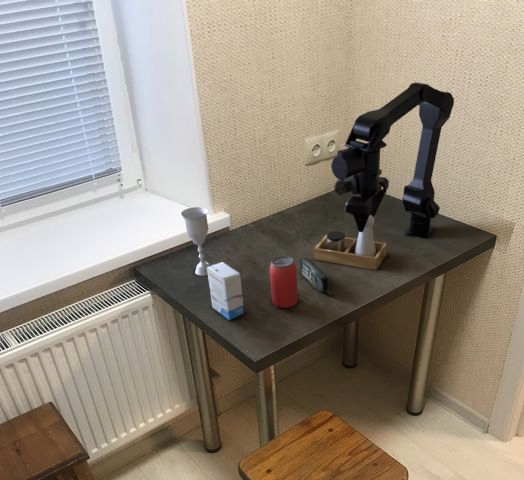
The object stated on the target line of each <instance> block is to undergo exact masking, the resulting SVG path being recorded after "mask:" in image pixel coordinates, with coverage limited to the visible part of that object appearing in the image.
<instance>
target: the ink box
mask: <svg viewBox="0 0 524 480" xmlns="http://www.w3.org/2000/svg"><path fill="white" fill-rule="evenodd" d="M207 272H208V275H207V278H208V286H209V291H210V292H209V293H210V299H211V307H212V309H214V310H215V311H216V312H218V313H219V314H220V315H222V316H223V317H225V319H226V320H228V321H231V320H234V319H235V318H237V317H239V316H242V315H244V314H245V307H244V299H243V298H244V297H243V288H242V279H241V273H240V272H238V271H237V270H236V269H234V268H232V267H231V266H229V265H228V264H226V263H225V262H223V261H221V262H218V263H216V264H212V265H210V266H209V267H208V268H207Z"/></svg>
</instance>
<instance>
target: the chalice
mask: <svg viewBox="0 0 524 480" xmlns="http://www.w3.org/2000/svg"><path fill="white" fill-rule="evenodd" d="M208 211H209V210H208V209H207V208H204V207H200V206H195V207H189V208H186V209H183V210H182V211H181V213H180V215H181V216H182V218H183V222H184V227H185V232H186V234H187V235H188V237H189V238H190V241H192V242H193V244H194V245H197V246H198V247H197V252H198V253H199V255H198V258H199V260H200V262H199V263H197V264H196V268H195V274H196V275H197V276H201V277H203V276H208V272H207V268H208V267H209V266H211V265H210V263H208V262H207V261H206V260H205V257H206V255H205V254H204V248H203V247H202V246H203V244H205V242H206V239H207V237H208V232H209V224H208V216H207V215H208Z"/></svg>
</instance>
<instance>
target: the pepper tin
mask: <svg viewBox="0 0 524 480" xmlns="http://www.w3.org/2000/svg"><path fill="white" fill-rule="evenodd" d="M345 237H346V233H344V232H343V231H340V230H334V231H330V232H328V233H327V248H326V250H333V251H339V252H345V251H346V249H345Z"/></svg>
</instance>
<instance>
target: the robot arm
mask: <svg viewBox="0 0 524 480" xmlns="http://www.w3.org/2000/svg"><path fill="white" fill-rule="evenodd" d="M418 106H419V107H418ZM454 106H455V97H453V94H452V93H451V92H448V91H442V90H439V89H437V88H434V87H432V86H431V85H430V84H428V83H422V82H412V83H410V84H409V86H408V87H407V88H406V89H405V90H404V91H401V93H400V94H398V95H396V96H395V97H394V98H392V99H391V100H390V101H389V102H387V103H385V104H384V105H383V106H381V107H380V108H378V109H375V110H374V109H373V110H370V111H367V112H365V113H362V114H361V115H359V116H358V117H357V118H356V119H355V120H354V123H353V125H352V128H351V130H350V131H349V134H348V136H347V139H346V141H345V144H344V147H347V148H345V149H339V150H337V151H336V156H335V157H334V158H333V159H332V161H331V162H330V163H331V164H330V167H331V168H330V169H331V171H332V174H333V175H334V177H335V178H336V179H338V180H337V181H336V182H335V183H334V185H333V191H334V192H335V193H336V194H337V195H338V196H343V195H344V194H348V193H351V194H352V196H351V197H350V198H349V199H347V201H346V202H345V203H344V212H345V213H347V214H350V215H352V217H353V218H354V221H355V224H356V227H357V230H358V233H359V232H363V231H364V228H365V226H366V223H367V221H368V218H369V216H370V215H372V216H373V217H374V218H375V216H376V214H377V212H378V209H380V205H381V203H382V201H383V200H384V198H385V195H386V194H387V191H388V189H389V186H390V185H389V184H390V181H389V179H388V178H387V177H385V176H381V175H382V174H383V173H382V172H383V169H381V168H380V165H381V149H383V148H386V147H387V144H388V143H386V142H385V141H384V139H385V138H386V137H387V136H388V135H389V133H390V131H391V127H392V126H393V125H394V124H395V123H397V122H398V121H399V120H401V119H402V118H403V117H405V116H406V115H407V114H409V113H410V112H411V111H413V110H414V109H415V108H416V107H418V117H419V119H420V123H421V125H422V128H421V134H420V138H419V144H418V150H417V156H416V161H415V168H414V173H413V178H412V180H411V181H410V182H409V183H408V184H407V185H405V186H404V188H403V194H402V197H401V200H402V205H403V207H404V212H405V213H406V212H407V213H410V226H409V228H408V230H407V231H406V236H411V237H420V238H425V239H427V238H429V237H430V235H431V233H432V231H433V229H434V228H433V226H431V220H432V219H435V218H436V216H438V215H439V212H440V210H441V207H440V205H438V203H437V202H436V201H435V188H434V185H433V183H432V179H433V173H434V168H435V162H436V159H437V153H438V147H439V142H440V139H441V132H442V128H443V127H444V125H445V124H446V123H447V122H448V121H449V119H450V118H451V114H452V111H453V108H454ZM359 140H360V141H359ZM355 195H358V196H355Z"/></svg>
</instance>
